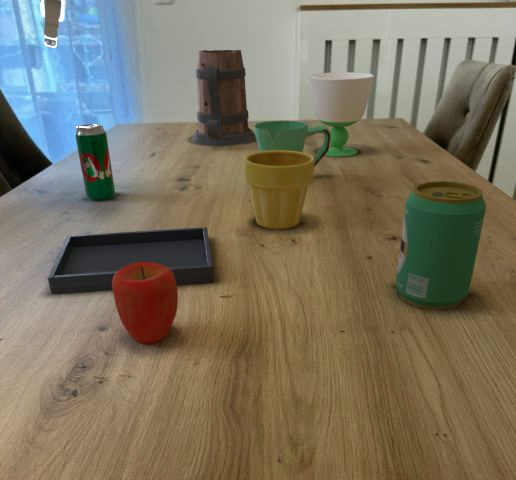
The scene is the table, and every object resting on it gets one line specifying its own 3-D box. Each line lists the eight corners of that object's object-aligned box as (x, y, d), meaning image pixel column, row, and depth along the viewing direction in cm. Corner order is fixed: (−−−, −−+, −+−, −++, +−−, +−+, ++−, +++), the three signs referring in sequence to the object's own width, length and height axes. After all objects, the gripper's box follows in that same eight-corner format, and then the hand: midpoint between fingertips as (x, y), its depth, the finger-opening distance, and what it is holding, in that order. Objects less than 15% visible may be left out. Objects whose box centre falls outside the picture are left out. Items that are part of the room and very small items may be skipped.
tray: (51, 294, 65) (47, 277, 64) (70, 249, 77) (67, 235, 76) (214, 282, 67) (213, 266, 66) (207, 241, 79) (206, 226, 78)
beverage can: (400, 276, 67) (413, 177, 61) (469, 285, 65) (490, 183, 58) (389, 304, 61) (401, 197, 55) (464, 316, 58) (487, 204, 52)
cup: (368, 160, 119) (375, 78, 110) (304, 158, 120) (306, 79, 112) (367, 146, 130) (373, 72, 122) (309, 145, 132) (311, 72, 124)
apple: (194, 334, 56) (188, 266, 52) (147, 359, 52) (136, 287, 48) (155, 315, 60) (147, 250, 56) (108, 337, 56) (95, 269, 52)
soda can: (108, 191, 101) (96, 122, 95) (121, 197, 98) (110, 126, 92) (82, 197, 98) (68, 126, 92) (94, 203, 95) (81, 130, 89)
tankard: (198, 132, 149) (192, 48, 138) (260, 132, 147) (258, 47, 137) (178, 151, 129) (169, 55, 118) (249, 152, 127) (246, 54, 117)
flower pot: (324, 218, 86) (327, 154, 81) (289, 238, 79) (290, 169, 74) (269, 207, 91) (268, 146, 86) (232, 225, 84) (229, 160, 79)
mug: (262, 189, 101) (261, 131, 96) (249, 176, 109) (248, 122, 104) (337, 182, 104) (340, 126, 99) (319, 170, 112) (321, 117, 107)
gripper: (36, -50, 88) (29, 45, 92) (33, -95, 70) (25, 26, 74) (77, -37, 90) (69, 55, 94) (84, -77, 72) (74, 39, 76)
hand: (50, 42), depth 84 cm, fingers open, 8 cm apart
